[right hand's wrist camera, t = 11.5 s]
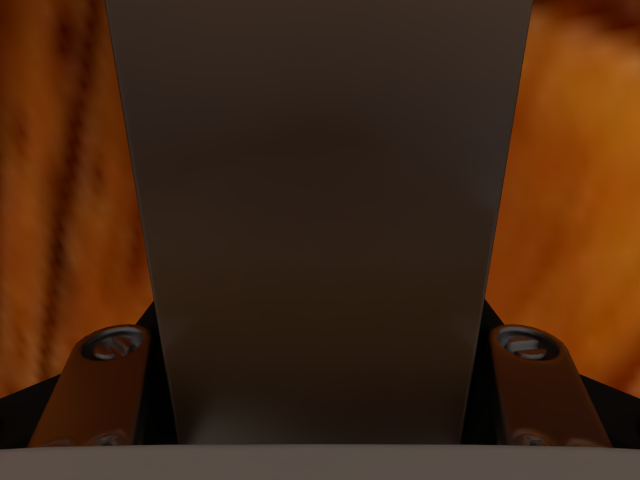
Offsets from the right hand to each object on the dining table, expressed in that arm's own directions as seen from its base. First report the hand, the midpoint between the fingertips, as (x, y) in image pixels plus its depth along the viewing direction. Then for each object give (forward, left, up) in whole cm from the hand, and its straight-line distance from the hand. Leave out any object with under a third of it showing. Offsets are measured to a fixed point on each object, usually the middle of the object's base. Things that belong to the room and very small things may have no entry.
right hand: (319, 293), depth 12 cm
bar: (+22, -5, -4) cm, 23 cm away
